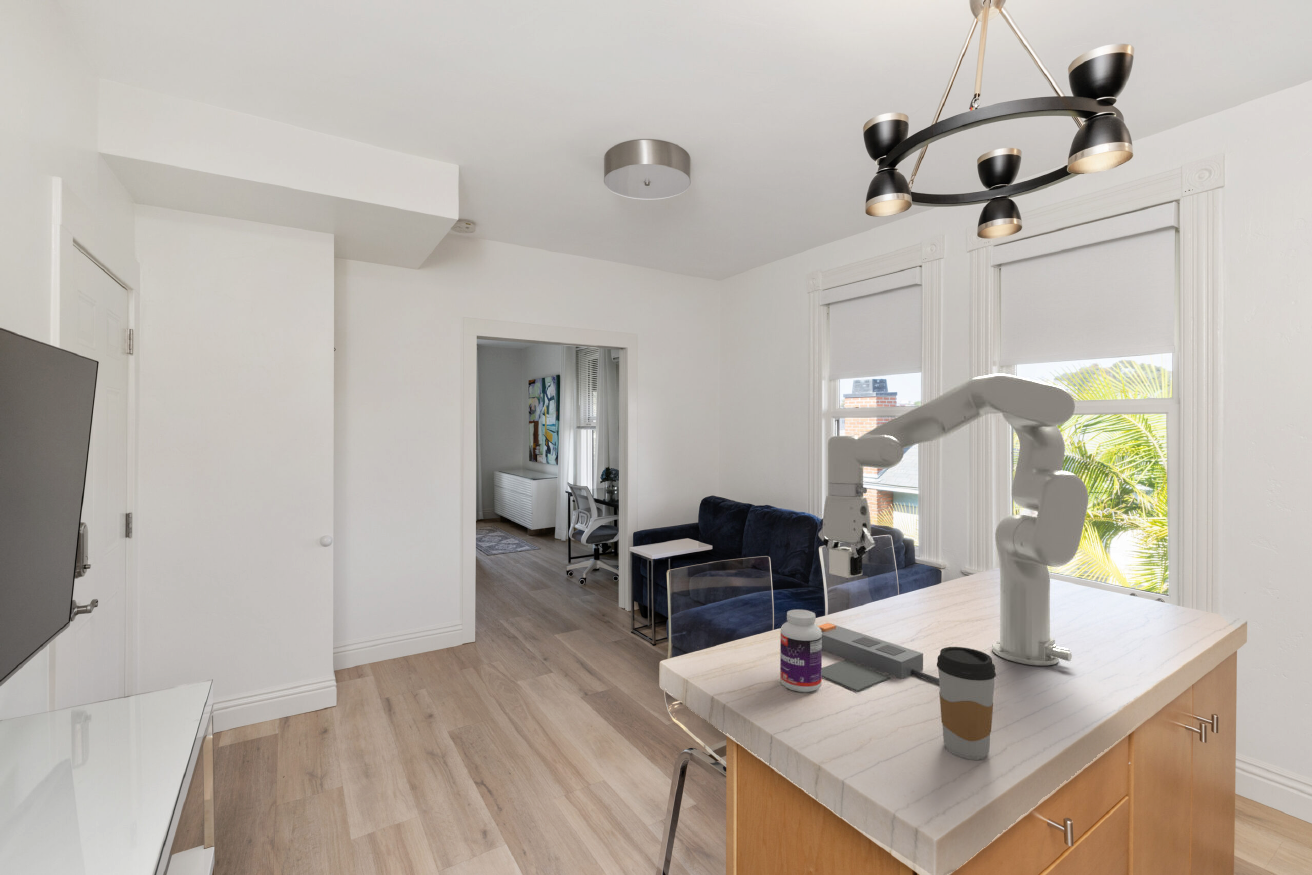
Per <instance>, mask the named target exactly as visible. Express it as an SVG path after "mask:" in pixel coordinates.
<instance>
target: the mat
mask: <svg viewBox="0 0 1312 875" xmlns="http://www.w3.org/2000/svg"><path fill="white" fill-rule="evenodd" d="M891 676H892V675H889V674H887V673H884V672H881V671H879V670H876V669H873V668H871V667H868V666H865V665H863V664H860V663H857V662H854V661H852V660H849V659H846V658H844V659H843V660H840V661H837V662H835V663H832V664H829V665H827V666H823V667H822V679H825V680H827V681H830V682H833V683H835V684H837V685H840V686H842V687H844V688H847V689H849V690H851V691H853V692H856V693H859V692H862V691H864V690H867V689H869V688H871V687H873V686H876V685H879V684H880V683H883V682H885V681H888V680H889V679H891Z"/></svg>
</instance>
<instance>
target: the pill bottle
mask: <svg viewBox="0 0 1312 875" xmlns="http://www.w3.org/2000/svg"><path fill="white" fill-rule="evenodd" d="M816 620H817V619H816V613H815V612H813V611H810V610H807V609H791V610H788V611H787V612H786V622H784V623H783V624H782V625H781V628H780V645H779V646H780V649H779V650H780V654H779V655H780V656H779V657H780V661H779V662H780V663H779V664H780V666H779V667H780V668H779V669H780V672H779V675H780V676H779V677H780V678H779V680H780V682H781V684H782V685H783V686H784V687H785V688H787V689H789V690H791V691H794V692H798V693H799V692H800V693H809V692H814V691H816V690H818V689H819V688H820V687H821V685H822V680H823V677H822V668H823V667H822V666H823V665H822V662H823V661H822V660H823V659H822V658H823V657H822V656H823V655H822V654H823V653H822V652H823V651H822V632H821V629H820V628H819V627H818V626H819V625H817V624H816Z"/></svg>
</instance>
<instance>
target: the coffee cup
mask: <svg viewBox="0 0 1312 875" xmlns="http://www.w3.org/2000/svg"><path fill="white" fill-rule="evenodd" d="M995 665H996V664H994V663H993V658H992V657H991V656H990V655H989V654H987V653H985V652H983V651H980V650H978V649H974V648H970V647H963V646H948V647H944V648H941V650H940V652H939V655H938V656H937V662H936V668H938V669H937V670H938V678H939V685H938V686H939V705H940V718H941V720H940V721H941V724H942V725H941V726H942V736H943V739H942V740H943V743H944V746H945V748H946V749H947V751H949V752H950V753H952V754H953V755H955V756H957V757H960V758H963V759H966V760H975V761H976V760H978V761H979V760H983V759H985V758H986V757H987V755H988V754H989V753H990V744H991V733H992V725H993V724H992V723H993V714H994V712H993V711H994V690H995V679H996V677H997V674H996V666H995Z"/></svg>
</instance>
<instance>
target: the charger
mask: <svg viewBox="0 0 1312 875" xmlns="http://www.w3.org/2000/svg"><path fill="white" fill-rule="evenodd" d="M857 550H858V548H857ZM851 557H853V555H852V551H851V547H847V546H841V547H838V548H832V549H829V552H828V561H829V562H828V567H829V568H828V569H829V571H828V574H831V575H834V576H837V577H838V576H840V577H842V578H847V579H848V578H854V577H858V576H862V575H863V573H862V574H859V575H854V576H853V575H851V574H850V558H851Z"/></svg>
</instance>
